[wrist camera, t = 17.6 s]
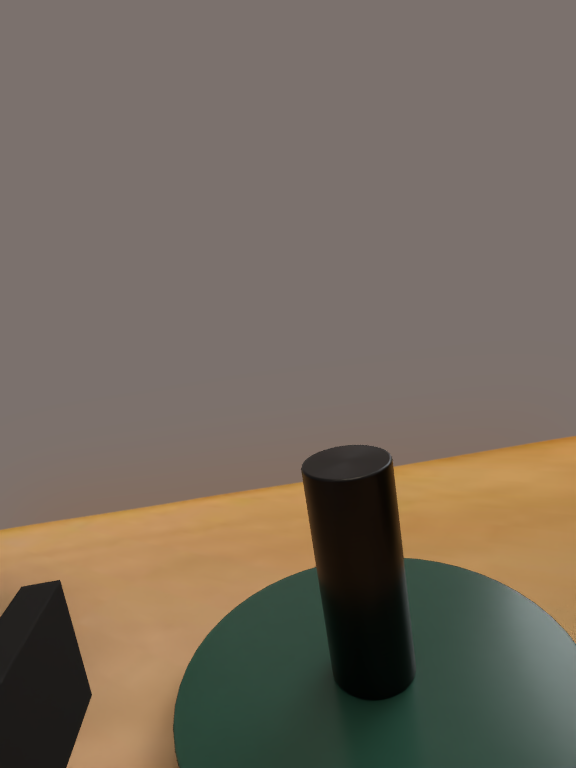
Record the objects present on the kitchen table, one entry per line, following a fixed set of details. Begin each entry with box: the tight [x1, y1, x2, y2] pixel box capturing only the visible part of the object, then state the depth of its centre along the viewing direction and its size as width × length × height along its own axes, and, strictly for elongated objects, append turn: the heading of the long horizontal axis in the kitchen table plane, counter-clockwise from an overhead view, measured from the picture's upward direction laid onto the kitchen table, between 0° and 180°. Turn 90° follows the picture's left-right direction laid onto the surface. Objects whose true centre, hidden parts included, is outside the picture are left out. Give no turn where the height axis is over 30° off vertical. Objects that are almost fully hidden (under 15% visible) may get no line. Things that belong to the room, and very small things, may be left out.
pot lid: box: [173, 445, 576, 768], centre depth 16 cm, size 13×13×8 cm
